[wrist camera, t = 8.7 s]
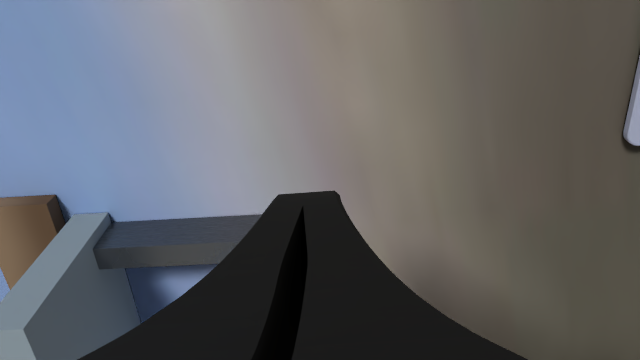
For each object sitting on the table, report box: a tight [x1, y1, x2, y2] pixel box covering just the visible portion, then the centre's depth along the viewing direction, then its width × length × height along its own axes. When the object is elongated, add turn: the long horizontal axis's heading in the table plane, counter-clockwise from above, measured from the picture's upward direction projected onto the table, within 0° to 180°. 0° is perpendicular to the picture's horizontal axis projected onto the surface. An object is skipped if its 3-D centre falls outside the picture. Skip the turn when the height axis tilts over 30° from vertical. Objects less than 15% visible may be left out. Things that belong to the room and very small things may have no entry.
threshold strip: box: [0, 195, 65, 290], centre depth 26 cm, size 3×18×1 cm, turn 4°
